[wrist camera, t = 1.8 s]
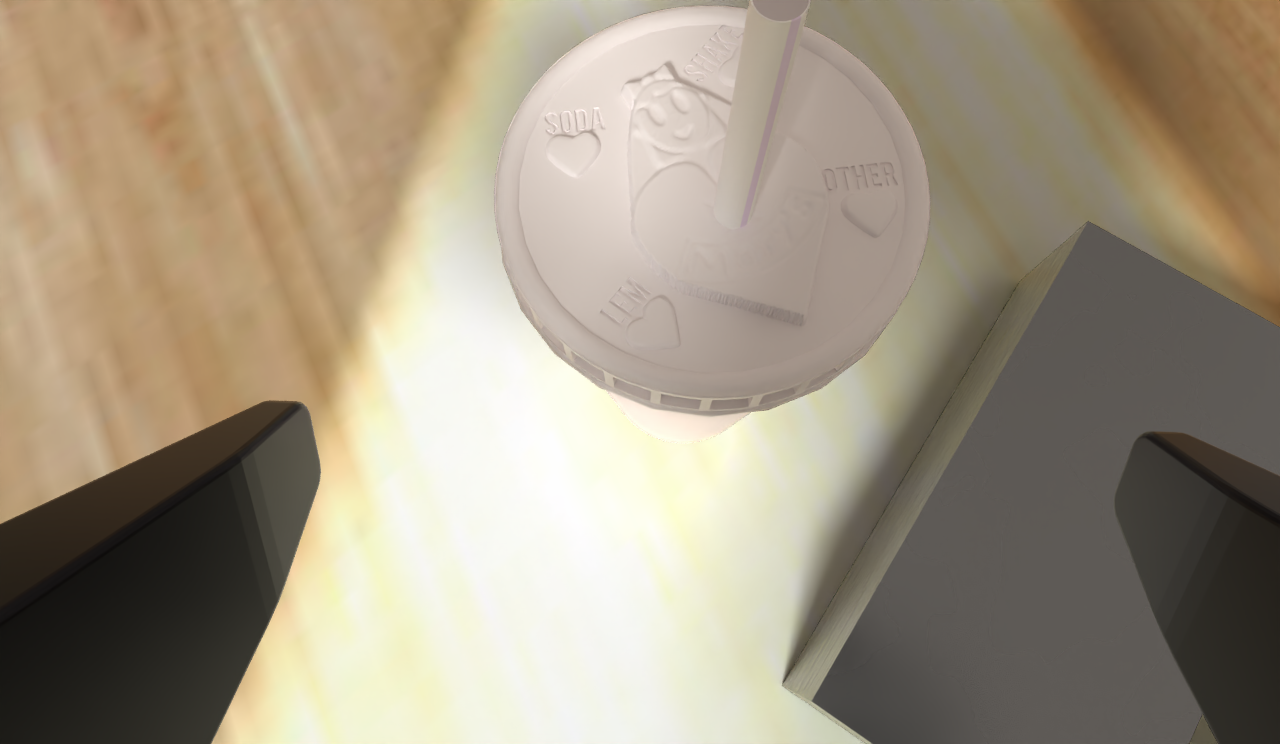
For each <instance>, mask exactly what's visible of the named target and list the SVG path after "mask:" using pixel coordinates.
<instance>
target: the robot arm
mask: <svg viewBox="0 0 1280 744" xmlns="http://www.w3.org/2000/svg"><path fill="white" fill-rule="evenodd" d="M320 474H321V468H320V460H319V455H318V450H317V445H316V440H315V436H314V431H313V426H312V421H311V416H310V413H309V411H308V409H307V407H306V406H305V405H304V404H303V403H301V402H296V401H264V402H262V403H259V404H257V405H255V406H253V407H251V408H249V409H246V410H244V411H242V412H240V413H238V414H236V415H234V416H231V417H229V418H227V419H225V420H223V421H221V422H219V423H216V424H214V425H212V426H210V427H208V428H206V429H203V430H201V431H199V432H197V433H195V434H193V435H191V436H188V437H186V438H184V439H182V440H180V441H178V442H176V443H173V444H171V445H169V446H167V447H165V448H163V449H161V450H158V451H156V452H154V453H152V454H150V455H148V456H145V457H143V458H141V459H139V460H137V461H135V462H133V463H130V464H128V465H126V466H124V467H122V468H120V469H118V470H115V471H113V472H111V473H109V474H107V475H105V476H103V477H100V478H98V479H96V480H94V481H92V482H90V483H87V484H85V485H83V486H81V487H79V488H77V489H75V490H72V491H70V492H68V493H66V494H64V495H62V496H60V497H57V498H55V499H53V500H51V501H49V502H47V503H45V504H42V505H40V506H38V507H36V508H34V509H32V510H29V511H27V512H25V513H23V514H21V515H19V516H17V517H14V518H12V519H10V520H8V521H6V522H4V523H2V524H0V744H211V743H212V741H213V739H214V737H215V735H216V733H217V731H218V729H219V727H220V725H221V722H222V720H223V718H224V716H225V714H226V712H227V710H228V708H229V706H230V704H231V702H232V699H233V697H234V695H235V693H236V691H237V689H238V687H239V685H240V683H241V681H242V679H243V676H244V674H245V672H246V670H247V668H248V666H249V664H250V662H251V660H252V658H253V656H254V653H255V651H256V649H257V647H258V645H259V643H260V641H261V639H262V637H263V635H264V633H265V631H266V628H267V626H268V624H269V622H270V620H271V618H272V615H273V613H274V611H275V609H276V606H277V604H278V602H279V599H280V597H281V594H282V591H283V589H284V586H285V583H286V580H287V577H288V575H289V572H290V569H291V566H292V563H293V560H294V557H295V554H296V551H297V548H298V545H299V542H300V539H301V536H302V533H303V530H304V527H305V525H306V522H307V519H308V516H309V513H310V510H311V507H312V504H313V501H314V498H315V495H316V492H317V489H318V486H319V482H320ZM1114 510H1115V515H1116V518H1117V521H1118V523H1119V526H1120V528H1121V531H1122V534H1123V536H1124V539H1125V541H1126V544H1127V546H1128V549H1129V552H1130V554H1131V557H1132V559H1133V562H1134V564H1135V567H1136V570H1137V572H1138V575H1139V577H1140V580H1141V583H1142V585H1143V588H1144V590H1145V593H1146V595H1147V598H1148V601H1149V603H1150V606H1151V608H1152V611H1153V613H1154V616H1155V618H1156V621H1157V623H1158V625H1159V628H1160V630H1161V632H1162V635H1163V637H1164V639H1165V641H1166V643H1167V645H1168V647H1169V649H1170V652H1171V654H1172V656H1173V658H1174V660H1175V662H1176V664H1177V665H1178V667H1179V669H1180V671H1181V673H1182V675H1183V677H1184V679H1185V681H1186V683H1187V685H1188V687H1189V689H1190V690H1191V692H1192V694H1193V696H1194V698H1195V700H1196V702H1197V704H1198V706H1199V708H1200V710H1201V712H1202V714H1203V715H1204V717H1205V719H1206V721H1207V723H1208V725H1209V727H1210V729H1211V731H1212V733H1213V735H1214V737H1215V739H1216V740H1217V742H1218V744H1280V476H1279V475H1277V474H1275V473H1272V472H1270V471H1268V470H1266V469H1264V468H1261V467H1259V466H1257V465H1255V464H1252V463H1250V462H1248V461H1246V460H1244V459H1241V458H1239V457H1237V456H1235V455H1233V454H1230V453H1228V452H1226V451H1224V450H1221V449H1219V448H1217V447H1215V446H1213V445H1210V444H1208V443H1206V442H1204V441H1202V440H1199V439H1197V438H1195V437H1193V436H1191V435H1188V434H1185V433H1180V432H1157V431H1149V432H1145V433H1143V434H1141V435H1139V436H1138V437H1137V439H1136V440H1135V442H1134V444H1133V446H1132V448H1131V451H1130V454H1129V456H1128V459H1127V462H1126V464H1125V467H1124V469H1123V472H1122V475H1121V477H1120V480H1119V483H1118V485H1117V488H1116V491H1115V495H1114Z"/></svg>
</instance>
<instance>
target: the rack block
mask: <svg viewBox="0 0 1280 744" xmlns="http://www.w3.org/2000/svg"><path fill="white" fill-rule="evenodd" d="M1149 431H1157V432H1180V433H1185V434H1188V435H1191V436H1193V437H1195V438H1197V439H1199V440H1202V441H1204V442H1206V443H1208V444H1210V445H1213V446H1215V447H1217V448H1219V449H1221V450H1224V451H1226V452H1228V453H1230V454H1233V455H1235V456H1237V457H1239V458H1241V459H1244V460H1246V461H1248V462H1250V463H1252V464H1255V465H1257V466H1259V467H1261V468H1264V469H1266V470H1268V471H1270V472H1272V473H1275V474H1277V475H1279V476H1280V327H1279V326H1277V325H1275V324H1273V323H1271V322H1270V321H1268V320H1266V319H1264V318H1262V317H1260V316H1259V315H1257V314H1255V313H1253V312H1251V311H1250V310H1248V309H1246V308H1244V307H1242V306H1241V305H1239V304H1237V303H1235V302H1233V301H1232V300H1230V299H1228V298H1226V297H1224V296H1223V295H1221V294H1219V293H1217V292H1215V291H1214V290H1212V289H1210V288H1208V287H1206V286H1205V285H1203V284H1201V283H1199V282H1197V281H1196V280H1194V279H1192V278H1190V277H1188V276H1186V275H1185V274H1183V273H1181V272H1179V271H1177V270H1176V269H1174V268H1172V267H1170V266H1168V265H1167V264H1165V263H1163V262H1161V261H1159V260H1158V259H1156V258H1154V257H1152V256H1150V255H1149V254H1147V253H1145V252H1143V251H1141V250H1140V249H1138V248H1136V247H1134V246H1132V245H1131V244H1129V243H1127V242H1125V241H1123V240H1122V239H1120V238H1118V237H1116V236H1114V235H1112V234H1111V233H1109V232H1107V231H1105V230H1103V229H1102V228H1100V227H1098V226H1096V225H1094V224H1093V223H1091V222H1089V221H1088V222H1087V223H1085V224H1084V225H1083V226H1082V227H1081V228H1080V229H1079V230H1078V231H1076V232H1075V233H1074V234H1073V235H1072V236H1071V237H1070V238H1068V239H1067V240H1066V241H1065V242H1064V243H1063V244H1062V245H1060V246H1059V247H1058V248H1057V249H1056V250H1055V251H1054V252H1052V253H1051V254H1050V255H1049V256H1048V257H1047V258H1046V259H1045V260H1043V261H1042V262H1041V263H1040V264H1039V265H1038V266H1037V267H1035V268H1034V269H1033V270H1032V271H1031V272H1030V273H1029V274H1027V275H1026V276H1025V277H1024V278H1023V279H1022V280H1021V281H1020V282H1019V283H1018V285H1017V287H1016V289H1015V290H1014V292H1013V294H1012V295H1011V297H1010V299H1009V300H1008V302H1007V304H1006V305H1005V307H1004V309H1003V311H1002V312H1001V314H1000V316H999V317H998V319H997V321H996V322H995V324H994V326H993V328H992V329H991V331H990V333H989V334H988V336H987V338H986V339H985V341H984V343H983V345H982V346H981V348H980V350H979V351H978V353H977V355H976V356H975V358H974V360H973V362H972V363H971V365H970V367H969V368H968V370H967V372H966V373H965V375H964V377H963V379H962V380H961V382H960V384H959V385H958V387H957V389H956V390H955V392H954V394H953V396H952V397H951V399H950V401H949V402H948V404H947V406H946V407H945V409H944V411H943V413H942V414H941V416H940V418H939V419H938V421H937V423H936V424H935V426H934V428H933V430H932V431H931V433H930V435H929V436H928V438H927V440H926V441H925V443H924V445H923V447H922V448H921V450H920V452H919V453H918V455H917V457H916V458H915V460H914V462H913V463H912V465H911V467H910V469H909V470H908V472H907V474H906V475H905V477H904V479H903V480H902V482H901V484H900V486H899V487H898V489H897V491H896V492H895V494H894V496H893V497H892V499H891V501H890V503H889V504H888V506H887V508H886V509H885V511H884V513H883V514H882V516H881V518H880V520H879V521H878V523H877V525H876V526H875V528H874V530H873V531H872V533H871V535H870V537H869V538H868V540H867V542H866V543H865V545H864V547H863V548H862V550H861V552H860V554H859V555H858V557H857V559H856V560H855V562H854V564H853V565H852V567H851V569H850V571H849V572H848V574H847V576H846V577H845V579H844V581H843V582H842V584H841V586H840V588H839V589H838V591H837V593H836V594H835V596H834V598H833V599H832V601H831V603H830V605H829V606H828V608H827V610H826V611H825V613H824V615H823V616H822V618H821V620H820V622H819V623H818V625H817V627H816V628H815V630H814V632H813V633H812V635H811V637H810V638H809V640H808V642H807V644H806V645H805V647H804V649H803V650H802V652H801V654H800V655H799V657H798V659H797V661H796V662H795V664H794V666H793V667H792V669H791V671H790V672H789V674H788V676H787V678H786V679H785V681H784V683H783V684H782V686H783V687H785V688H786V689H788V690H789V691H790V692H792V693H793V694H795V695H796V696H798V697H799V698H801V699H802V700H803V701H805V702H806V703H808V704H809V705H811V706H812V707H813V708H815V709H816V710H818V711H819V712H821V713H822V714H824V715H825V716H826V717H828V718H829V719H831V720H832V721H834V722H835V723H836V724H838V725H839V726H841V727H842V728H844V729H845V730H847V731H848V732H849V733H851V734H852V735H854V736H855V737H857V738H858V739H859V740H861V741H862V742H864V743H865V744H1189V742H1190V740H1191V738H1192V736H1193V734H1194V731H1195V729H1196V727H1197V725H1198V723H1199V720H1200V718H1201V716H1202V712H1201V710H1200V708H1199V706H1198V704H1197V702H1196V700H1195V698H1194V696H1193V694H1192V692H1191V690H1190V689H1189V687H1188V685H1187V683H1186V681H1185V679H1184V677H1183V675H1182V673H1181V671H1180V669H1179V667H1178V665H1177V664H1176V662H1175V660H1174V658H1173V656H1172V654H1171V652H1170V649H1169V647H1168V645H1167V643H1166V641H1165V639H1164V637H1163V635H1162V632H1161V630H1160V628H1159V625H1158V623H1157V621H1156V618H1155V616H1154V613H1153V611H1152V608H1151V606H1150V603H1149V601H1148V598H1147V595H1146V593H1145V590H1144V588H1143V585H1142V583H1141V580H1140V577H1139V575H1138V572H1137V570H1136V567H1135V564H1134V562H1133V559H1132V557H1131V554H1130V552H1129V549H1128V546H1127V544H1126V541H1125V539H1124V536H1123V534H1122V531H1121V528H1120V526H1119V523H1118V521H1117V518H1116V515H1115V510H1114V495H1115V491H1116V488H1117V485H1118V483H1119V480H1120V477H1121V475H1122V472H1123V469H1124V467H1125V464H1126V462H1127V459H1128V456H1129V454H1130V451H1131V448H1132V446H1133V444H1134V442H1135V440H1136V439H1137V437H1138V436H1139V435H1141V434H1143V433H1145V432H1149Z"/></svg>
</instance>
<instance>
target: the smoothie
mask: <svg viewBox="0 0 1280 744" xmlns="http://www.w3.org/2000/svg"><path fill="white" fill-rule="evenodd" d="M810 1H811V0H749V5H748V9H746V8H740V7H730V6H709V5H700V6H684V7H676V8H670V9H663V10H658V11H654V12H650V13H646V14H642V15H639V16H636V17H633V18H630V19H627V20H624V21H622V22H619V23H617V24H614V25H612V26H610V27H607V28H605V29H604V30H602V31H600V32H598V33H596V34H594V35H592V36H590V37H589V38H587V39H586V40H584V41H583V42H581V43H580V44H578V45H577V46H575V47H574V48H572V49H571V50H570V51H568V52H567V53H566V54H565V55H563V56H562V57H561V58H560V59H558V60H557V61H556V62H555V63H554V64H553V65H552V66H551V67H550V68H549V69H548V70H547V71H546V72H545V73H544V74H543V75H542V76H541V78H540V79H539V80H538V81H537V82H536V83H535V85H534V86H533V87H532V88H531V90H530V91H529V93H528V94H527V96H526V97H525V98H524V100H523V101H522V103H521V104H520V106H519V108H518V110H517V112H516V114H515V115H514V117H513V119H512V121H511V123H510V126H509V128H508V131H507V133H506V135H505V138H504V141H503V144H502V148H501V151H500V154H499V159H498V164H497V169H496V175H495V188H494V209H495V219H496V226H497V233H498V237H499V241H500V245H501V249H502V261H503V264H504V267H505V269H506V272H507V275H508V277H509V280H510V282H511V285H512V287H513V290H514V293H515V295H516V298H517V300H518V303H519V305H520V308H521V310H522V312H523V313H524V314H525V316H526V317H527V318H528V320H529V321H530V322H531V324H532V325H533V326H534V328H535V329H536V330H537V331H538V333H539V334H540V335H541V337H542V338H543V339H544V341H545V342H546V343H547V345H548V346H549V347H550V349H551V350H552V351H553V352H554V354H556V355H557V356H558V357H560V358H561V359H562V360H564V361H565V362H566V363H567V364H569V365H570V366H571V367H573V368H574V369H575V370H577V371H578V372H579V373H581V374H582V375H583V376H585V377H586V378H587V379H589V380H590V381H591V382H592V383H594V384H595V385H596V386H598V387H599V388H602V389H604V390H606V391H607V392H608V394H609V395H610V396H611V398H612V399H613V400H614V402H615V403H616V404H617V406H618V407H619V408H620V410H621V411H622V412H623V414H624V415H625V416H626V417H627V418H628V420H629V421H630V422H631V423H632V424H634V425H635V426H636V427H637V428H638V429H640V430H641V431H643V432H644V433H646V434H648V435H650V436H652V437H654V438H657V439H660V440H663V441H667V442H673V443H694V442H700V441H703V440H707V439H709V438H712V437H714V436H716V435H718V434H720V433H722V432H723V431H725V430H726V429H728V428H729V427H731V426H732V425H734V424H735V423H737V422H738V421H739V420H741V419H742V418H744V417H745V416H747V415H748V414H750V413H751V412H756V411H764V410H770V409H772V408H774V407H777V406H779V405H782V404H784V403H787V402H789V401H792V400H794V399H797V398H799V397H802V396H804V395H807V394H809V393H812V392H814V391H817V390H819V389H821V388H823V387H824V386H825V385H827V384H828V383H829V382H831V381H832V380H833V379H835V378H836V377H837V376H838V375H840V374H841V373H842V372H844V371H845V370H846V369H848V368H849V367H850V366H852V365H853V364H854V363H855V362H857V361H858V360H859V359H861V358H862V357H863V356H865V355H866V353H867V352H868V351H869V349H870V348H871V346H872V345H873V344H874V342H875V341H876V340H877V338H878V337H879V336H880V334H881V333H882V332H883V330H884V329H885V327H886V326H887V325H888V323H889V322H890V321H891V319H892V318H893V317H894V315H895V314H896V313H897V310H898V307H899V306H900V304H901V303H902V301H903V300H904V298H905V297H906V295H907V293H908V291H909V289H910V287H911V285H912V283H913V281H914V279H915V277H916V275H917V272H918V269H919V267H920V264H921V261H922V258H923V254H924V250H925V247H926V243H927V237H928V230H929V223H930V191H929V180H928V175H927V170H926V165H925V161H924V158H923V154H922V151H921V148H920V144H919V142H918V140H917V137H916V135H915V133H914V130H913V128H912V126H911V124H910V122H909V120H908V118H907V117H906V115H905V113H904V111H903V109H902V108H901V106H900V105H899V104H898V102H897V101H896V99H895V98H894V96H893V95H892V93H891V92H890V91H889V90H888V89H887V87H886V86H885V85H884V84H883V83H882V81H881V80H880V79H879V78H878V77H877V76H876V75H875V74H874V73H873V72H872V71H871V70H870V69H869V68H868V67H867V66H866V65H865V64H864V63H863V62H861V61H860V60H859V59H858V58H857V57H855V56H854V55H853V54H852V53H850V52H849V51H848V50H846V49H845V48H843V47H842V46H840V45H839V44H837V43H836V42H835V41H833V40H831V39H829V38H828V37H826V36H824V35H822V34H821V33H819V32H817V31H815V30H813V29H810V28H808V27H806V26H804V25H805V21H806V17H807V14H808V10H809V6H810Z"/></svg>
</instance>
